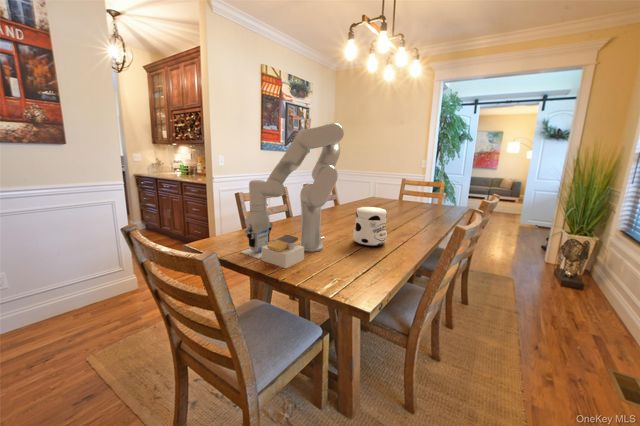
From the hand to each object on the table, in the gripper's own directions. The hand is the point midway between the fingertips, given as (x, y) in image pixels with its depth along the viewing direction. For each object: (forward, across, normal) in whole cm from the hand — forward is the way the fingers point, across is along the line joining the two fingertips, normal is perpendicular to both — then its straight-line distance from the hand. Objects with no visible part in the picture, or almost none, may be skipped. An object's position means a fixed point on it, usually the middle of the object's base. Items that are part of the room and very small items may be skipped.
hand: (259, 243), depth 131 cm
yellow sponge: (-3, 0, +15) cm, 15 cm away
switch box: (+4, 0, +15) cm, 15 cm away
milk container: (+4, -45, +35) cm, 57 cm away
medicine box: (+2, 0, 0) cm, 3 cm away
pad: (+4, 0, 0) cm, 4 cm away
